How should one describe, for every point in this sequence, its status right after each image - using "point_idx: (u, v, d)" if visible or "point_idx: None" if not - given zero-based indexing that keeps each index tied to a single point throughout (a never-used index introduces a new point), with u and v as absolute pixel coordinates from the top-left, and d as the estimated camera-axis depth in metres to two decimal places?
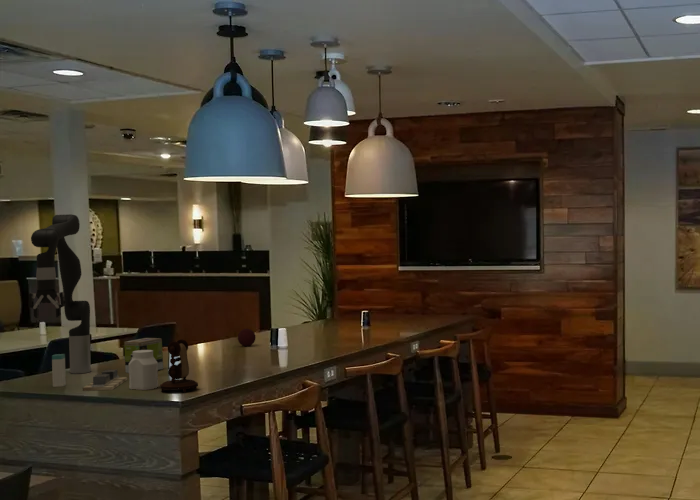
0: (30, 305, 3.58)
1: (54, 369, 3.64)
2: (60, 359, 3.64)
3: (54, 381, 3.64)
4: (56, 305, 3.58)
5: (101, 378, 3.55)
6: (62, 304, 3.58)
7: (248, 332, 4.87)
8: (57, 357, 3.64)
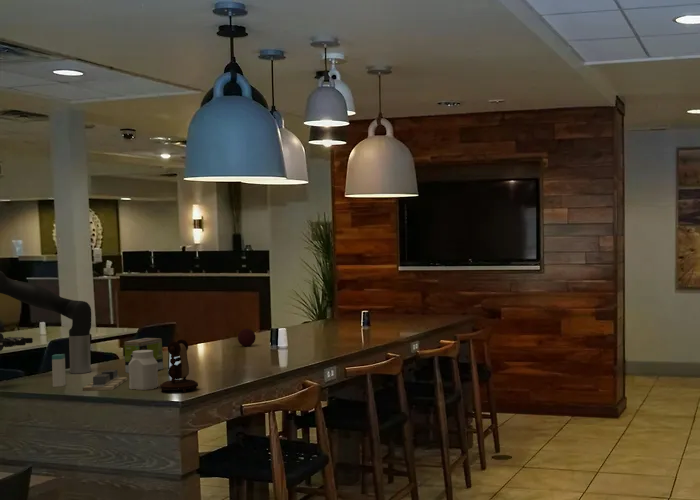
0: None
1: (54, 369, 3.64)
2: (60, 359, 3.64)
3: (54, 381, 3.64)
4: (13, 345, 3.62)
5: (101, 378, 3.55)
6: None
7: (248, 332, 4.87)
8: (57, 357, 3.64)
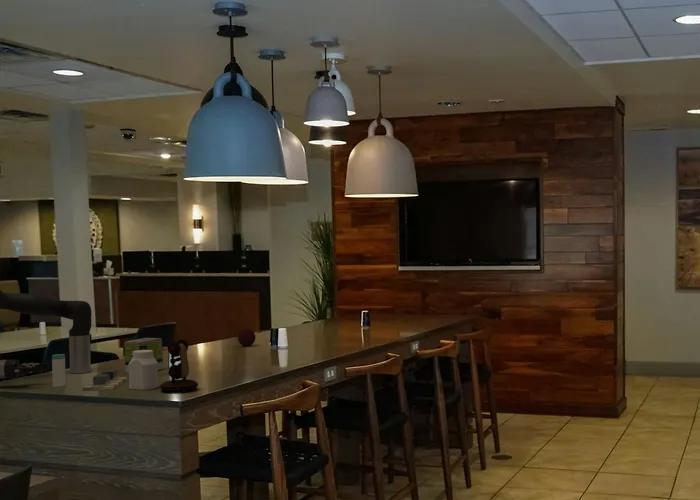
0: None
1: (54, 369, 3.64)
2: (60, 359, 3.64)
3: (54, 381, 3.64)
4: None
5: (101, 378, 3.55)
6: (26, 373, 3.59)
7: (248, 332, 4.87)
8: (57, 357, 3.64)
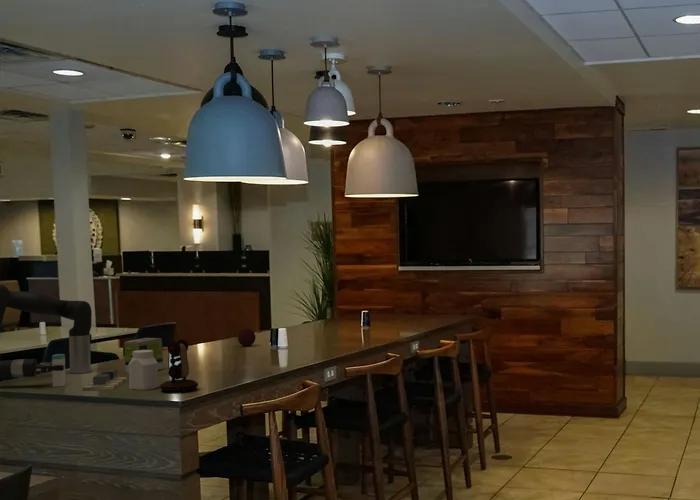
0: None
1: None
2: (60, 359, 3.64)
3: (54, 381, 3.64)
4: None
5: (101, 378, 3.55)
6: (48, 371, 3.61)
7: (248, 332, 4.87)
8: (57, 357, 3.64)
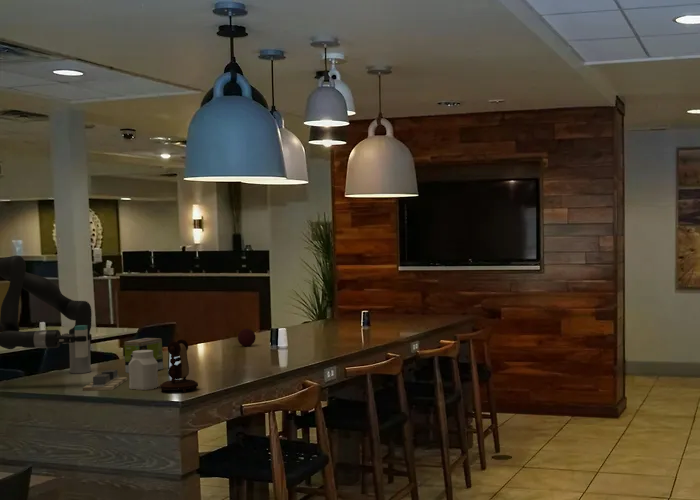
0: None
1: None
2: (83, 330, 3.63)
3: (77, 352, 3.63)
4: (74, 341, 3.63)
5: (101, 378, 3.55)
6: (71, 342, 3.60)
7: (248, 332, 4.87)
8: (79, 328, 3.63)
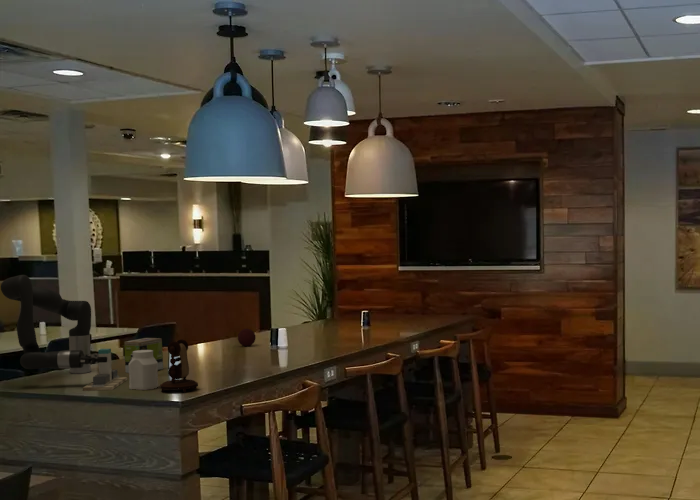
0: None
1: (100, 364, 3.62)
2: (106, 353, 3.62)
3: None
4: None
5: (101, 378, 3.55)
6: (92, 363, 3.58)
7: (248, 332, 4.87)
8: (103, 351, 3.62)
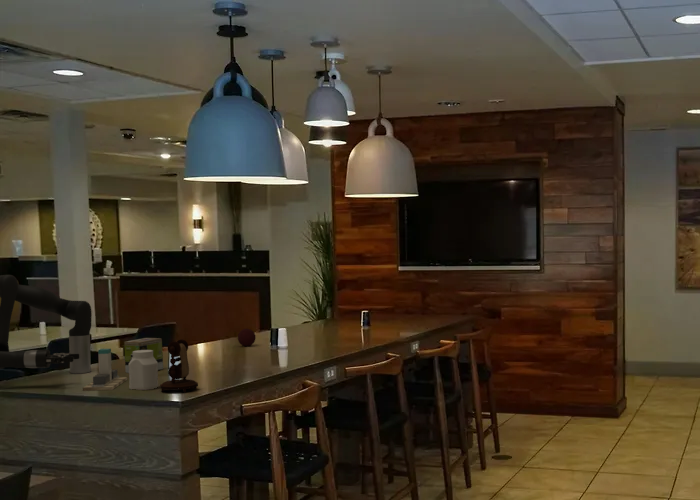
0: None
1: (100, 364, 3.62)
2: (106, 353, 3.62)
3: None
4: None
5: (101, 378, 3.55)
6: None
7: (248, 332, 4.87)
8: (103, 351, 3.62)
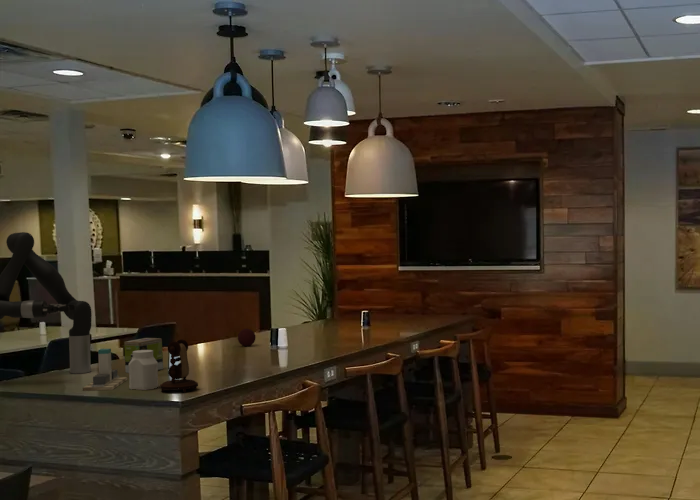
0: None
1: (100, 364, 3.62)
2: (106, 353, 3.62)
3: None
4: None
5: (101, 378, 3.55)
6: None
7: (248, 332, 4.87)
8: (103, 351, 3.62)
